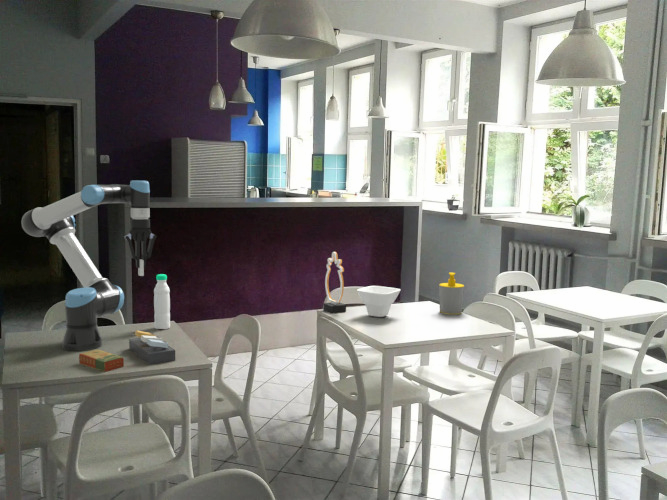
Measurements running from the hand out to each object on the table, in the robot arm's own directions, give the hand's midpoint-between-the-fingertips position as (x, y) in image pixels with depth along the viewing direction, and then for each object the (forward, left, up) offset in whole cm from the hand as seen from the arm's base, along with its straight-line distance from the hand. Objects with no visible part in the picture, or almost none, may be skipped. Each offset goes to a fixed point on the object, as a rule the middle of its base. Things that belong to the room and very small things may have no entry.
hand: (141, 275), depth 254 cm
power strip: (-2, -13, -29) cm, 32 cm away
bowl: (+118, -10, -29) cm, 122 cm away
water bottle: (+16, +22, -29) cm, 40 cm away
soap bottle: (+158, -22, -29) cm, 162 cm away
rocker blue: (-2, -25, -23) cm, 34 cm away
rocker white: (-2, -17, -23) cm, 29 cm away
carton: (-22, -21, -30) cm, 42 cm away
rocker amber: (-2, -10, -23) cm, 25 cm away
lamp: (+106, +12, -29) cm, 111 cm away
